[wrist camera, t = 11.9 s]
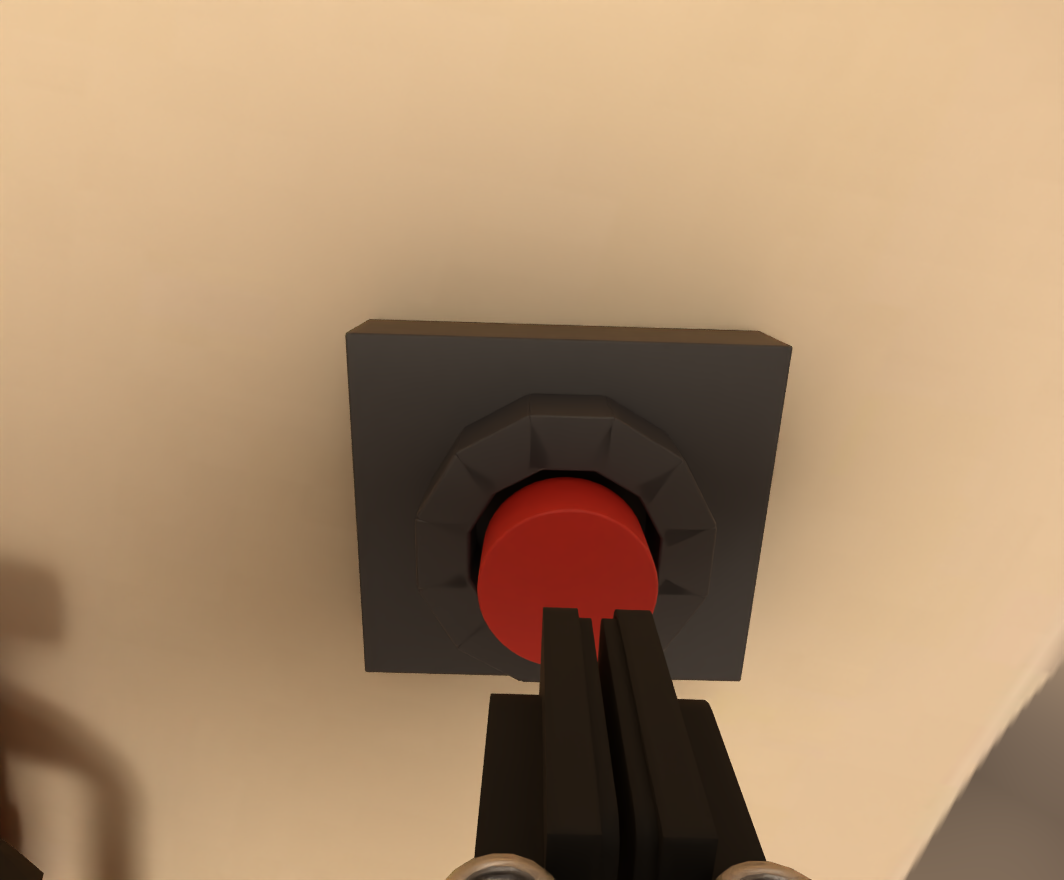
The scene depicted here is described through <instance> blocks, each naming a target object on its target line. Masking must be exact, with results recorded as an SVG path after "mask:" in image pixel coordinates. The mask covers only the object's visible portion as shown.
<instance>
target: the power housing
mask: <svg viewBox="0 0 1064 880" xmlns="http://www.w3.org/2000/svg"><path fill="white" fill-rule="evenodd" d="M345 337H346V354H347V371H348V388H349V405H350V422H351V439H352V456H353V473H354V490H355V507H356V523H357V540H358V557H359V574H360V591H361V608H362V625H363V642H364V659H365V671H366V672H386V673H426V674H466V675H506V676H511V677H513V678H515V679H517V680H518V681H521V680H522V681H523V682H540V665H541V664H538V663H535V662H532V661H529V660H527V659H525V658H522V657H520V656H519V655H517V654H515V653H514V652H512V651H511V650H509V649H508V648H507V647H506V646H504V645H503V644H502V643H501V642H500V641H499V640H498V639H497V638H496V637H495V635H494V634H493V633H492V631H491V630H490V629H489V627H488V625H487V624H486V622H485V620H484V618H483V615H482V613H481V610H480V606H479V602H478V594H477V584H478V575H479V568H480V561H481V555H482V548H483V541H484V537H485V533H486V529H487V527H488V524H489V522H490V520H491V518H492V517H493V515H494V513H495V512H496V510H497V509H498V508H499V507H500V505H501V504H502V503H503V502H504V501H505V500H506V499H507V498H508V497H510V496H511V495H512V494H514V493H515V492H516V491H518V490H520V489H521V488H523V487H525V486H527V485H529V484H532V483H534V482H537V481H541V480H544V479H549V478H556V477H574V478H581V479H586V480H590V481H593V482H596V483H599V484H601V485H603V486H605V487H607V488H609V489H610V490H612V491H613V492H615V493H616V494H618V495H619V496H620V497H621V498H622V499H623V500H624V501H625V502H626V503H627V504H628V505H629V506H630V507H631V509H632V510H633V512H634V513H635V515H636V516H637V518H638V521H639V523H640V525H641V528H642V530H643V533H644V536H645V539H646V541H647V544H648V547H649V550H650V552H651V555H652V558H653V561H654V564H655V567H656V571H657V577H658V595H657V601H656V605H655V608H654V611H653V614H652V615H653V618H654V622H655V625H656V629H657V632H658V635H659V639H660V642H661V646H662V649H663V652H664V656H665V659H666V663H667V666H668V669H669V673H670V676H671V679H672V680H708V681H740V680H741V674H742V668H743V662H744V655H745V649H746V642H747V636H748V629H749V623H750V617H751V610H752V604H753V597H754V591H755V585H756V578H757V572H758V565H759V559H760V553H761V546H762V540H763V533H764V527H765V520H766V514H767V508H768V501H769V495H770V488H771V482H772V476H773V469H774V463H775V456H776V450H777V444H778V437H779V431H780V424H781V418H782V411H783V405H784V399H785V392H786V386H787V379H788V373H789V367H790V360H791V354H792V346H790V345H788V344H785V343H783V342H781V341H779V340H777V339H775V338H773V337H771V336H768V335H766V334H764V333H762V332H760V331H735V330H702V329H669V328H637V327H604V326H571V325H538V324H505V323H472V322H439V321H406V320H373V319H370V320H368V321H366V322H364V323H362V324H361V325H359V326H357V327H356V328H354V329H352V330H350V331H349V332H347V333H346V335H345Z"/></svg>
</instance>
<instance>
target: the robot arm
mask: <svg viewBox="0 0 1064 880" xmlns="http://www.w3.org/2000/svg"><path fill="white" fill-rule="evenodd" d="M446 880H811V879H809V878H808V877H806V876H804V875H802V874H801V873H799V872H797V871H795V870H793V869H792V868H789V867H786V866H782V865H779V864H776V863H773V862H769V861H766V859H765V856H764V853H763V851H762V848H761V845H760V842H759V840H758V837H757V834H756V831H755V828H754V826H753V823H752V820H751V817H750V815H749V812H748V809H747V806H746V803H745V801H744V798H743V795H742V792H741V790H740V787H739V784H738V781H737V778H736V776H735V773H734V770H733V767H732V764H731V762H730V759H729V756H728V753H727V751H726V748H725V745H724V742H723V739H722V737H721V734H720V731H719V728H718V726H717V723H716V720H715V717H714V714H713V712H712V709H711V707H710V705H709V703H708V702H707V701H706V700H691V699H677V696H676V693H675V690H674V686H673V683H672V679H671V676H670V673H669V669H668V666H667V663H666V659H665V656H664V652H663V649H662V646H661V642H660V639H659V635H658V632H657V629H656V625H655V622H654V618H653V615H652V613H651V611H650V610H625V609H615V611H614V615H613V619H610V618H602V619H601V623H600V636H599V649H598V662H597V655H596V647H595V640H594V633H593V626H592V619H591V618H579V614H578V609H577V608H559V607H543V617H542V640H541V665H540V689H539V695H524V694H491V696H490V704H489V714H488V724H487V734H486V745H485V755H484V765H483V775H482V785H481V795H480V805H479V815H478V826H477V836H476V846H475V856H474V858H473V859H471V860H470V861H468V862H466V863H465V864H463V865H461V866H460V867H458V868H457V869H455V870H454V871H453V872H452V873H451V874H450V875H449V876H448V877H447V879H446Z"/></svg>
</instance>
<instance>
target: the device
mask: <svg viewBox="0 0 1064 880" xmlns="http://www.w3.org/2000/svg"><path fill="white" fill-rule="evenodd" d="M43 874H44V873H43V872H42V871H40V870H39V869H38V868H37V867H36V866H35V865H33V864H32V863H31V862H30V861H29V860H28V859H27V858H25V857H24V856H23V855H22V854H21V853H20V852H18V851H17V850H16V849H15V848H14V847H12V846H11V845H10V844H8V843H7V842H5V841H4V840H2V839H0V880H42V878H43Z"/></svg>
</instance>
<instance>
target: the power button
mask: <svg viewBox="0 0 1064 880" xmlns="http://www.w3.org/2000/svg"><path fill="white" fill-rule="evenodd" d="M477 594H478V602H479V606H480V610H481V613H482V615H483V618H484V620H485V622H486V624H487V625H488V627H489V629H490V630H491V631H492V633H493V634H494V635H495V637H496V638H497V639H498V640H499V641H500V642H501V643H502V644H503V645H504V646H506V647H507V648H508V649H509V650H511V651H512V652H514V653H515V654H517V655H519V656H520V657H522V658H525V659H527V660H529V661H532V662H535V663H538V664H541V640H542V617H543V607H559V608H577V609H578V614H579V618H591V619H592V626H593V633H594V640H595V647H596V655H597V662H598V649H599V636H600V623H601V619H602V618H610V619H613V615H614V611H615V609H625V610H650V611H651V613H652V614H653V611H654V608H655V605H656V601H657V595H658V577H657V571H656V567H655V564H654V561H653V558H652V555H651V552H650V550H649V547H648V544H647V541H646V539H645V536H644V533H643V530H642V528H641V525H640V523H639V521H638V518H637V516H636V515H635V513H634V512H633V510H632V509H631V507H630V506H629V505H628V504H627V503H626V502H625V501H624V500H623V499H622V498H621V497H620V496H619V495H618V494H616V493H615V492H613V491H612V490H610V489H609V488H607V487H605V486H603V485H601V484H599V483H596V482H593V481H590V480H586V479H581V478H574V477H556V478H549V479H544V480H541V481H537V482H534V483H532V484H529V485H527V486H525V487H523V488H521V489H520V490H518V491H516V492H515V493H514V494H512V495H511V496H510V497H508V498H507V499H506V500H505V501H504V502H503V503H502V504H501V505H500V507H499V508H498V509H497V510H496V512H495V513H494V515H493V517H492V518H491V520H490V522H489V524H488V527H487V529H486V533H485V537H484V541H483V548H482V555H481V561H480V568H479V575H478V584H477Z"/></svg>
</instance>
